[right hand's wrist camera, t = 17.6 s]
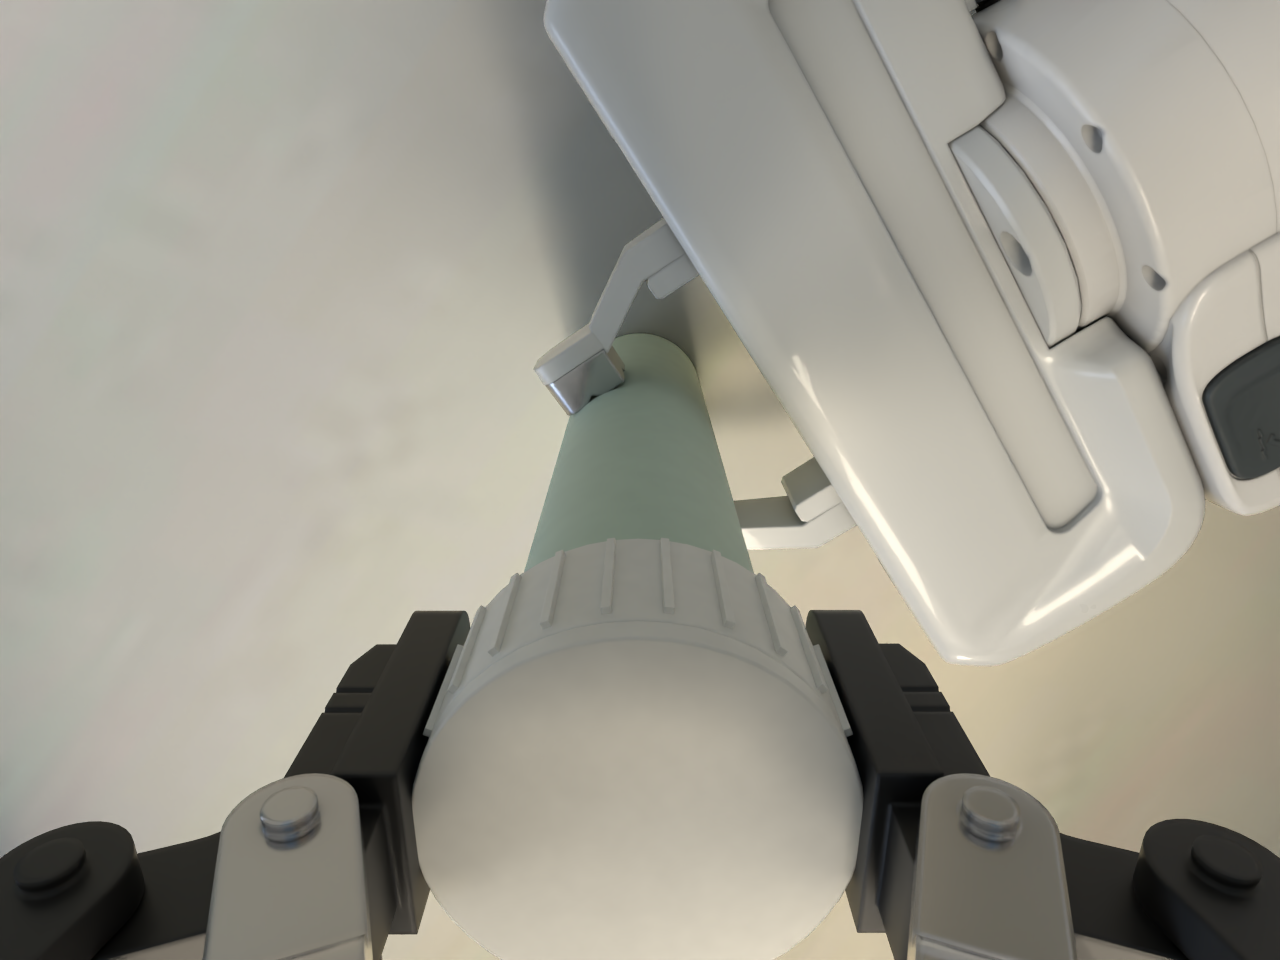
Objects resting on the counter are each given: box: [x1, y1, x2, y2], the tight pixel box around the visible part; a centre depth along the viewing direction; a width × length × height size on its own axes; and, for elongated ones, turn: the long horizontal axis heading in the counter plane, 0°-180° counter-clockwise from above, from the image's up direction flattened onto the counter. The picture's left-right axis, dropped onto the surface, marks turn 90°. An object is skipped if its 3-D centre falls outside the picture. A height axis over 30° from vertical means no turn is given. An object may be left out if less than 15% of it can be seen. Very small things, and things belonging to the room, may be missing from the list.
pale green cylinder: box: [524, 333, 754, 573], centre depth 19 cm, size 4×4×19 cm
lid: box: [412, 538, 864, 960], centre depth 10 cm, size 5×5×2 cm
